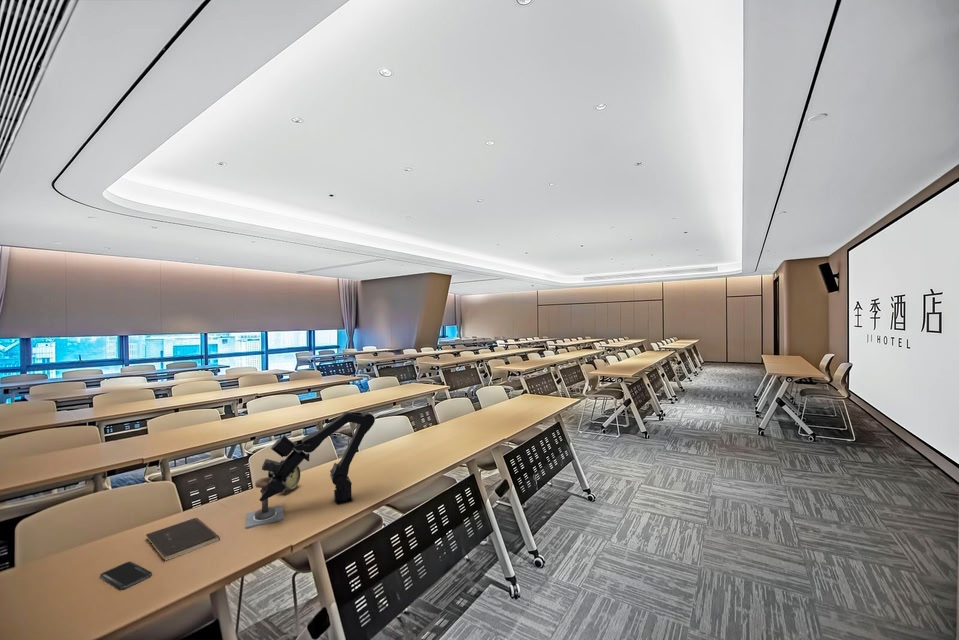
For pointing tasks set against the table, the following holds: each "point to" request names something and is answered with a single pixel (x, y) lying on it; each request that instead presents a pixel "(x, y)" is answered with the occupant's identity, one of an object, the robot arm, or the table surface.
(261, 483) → the stool
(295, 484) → the alarm clock
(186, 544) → the hardcover book
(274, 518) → the mat
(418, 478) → the table surface
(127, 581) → the phone
